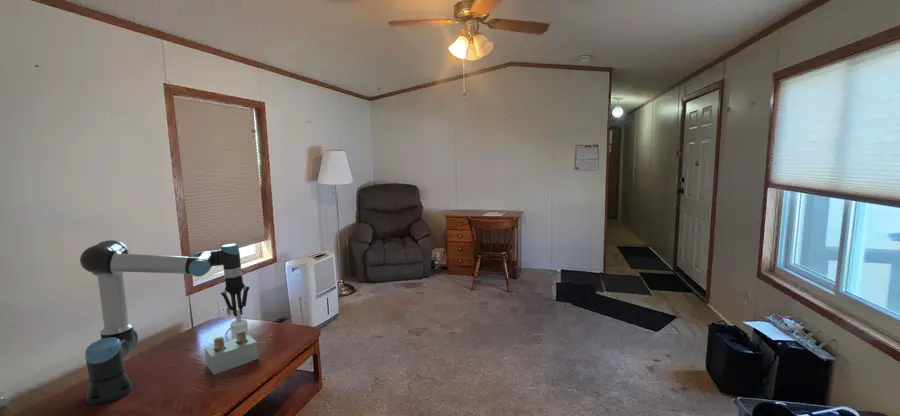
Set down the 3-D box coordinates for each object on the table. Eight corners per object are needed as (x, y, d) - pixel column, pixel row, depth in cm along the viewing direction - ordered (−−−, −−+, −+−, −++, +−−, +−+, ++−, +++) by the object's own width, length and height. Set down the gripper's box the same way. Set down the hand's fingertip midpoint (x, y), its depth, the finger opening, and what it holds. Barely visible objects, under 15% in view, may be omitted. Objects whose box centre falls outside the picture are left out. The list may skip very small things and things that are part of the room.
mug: (229, 350, 212) (227, 329, 210) (223, 346, 218) (220, 325, 216) (252, 342, 221) (250, 321, 219) (245, 338, 226) (243, 317, 225)
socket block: (213, 374, 189) (211, 356, 188) (206, 365, 198) (204, 348, 196) (258, 358, 203) (256, 341, 202) (250, 350, 211) (248, 334, 210)
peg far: (239, 349, 200) (237, 334, 199) (236, 347, 203) (235, 332, 202) (248, 347, 203) (246, 331, 202) (245, 344, 206) (243, 329, 204)
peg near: (216, 357, 193) (215, 341, 192) (214, 354, 196) (212, 338, 195) (226, 354, 196) (224, 338, 195) (223, 351, 199) (221, 336, 198)
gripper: (221, 280, 191) (227, 328, 195) (250, 273, 200) (255, 319, 204) (216, 277, 196) (222, 323, 200) (244, 271, 206) (249, 315, 209)
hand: (238, 321), depth 202 cm, fingers closed
